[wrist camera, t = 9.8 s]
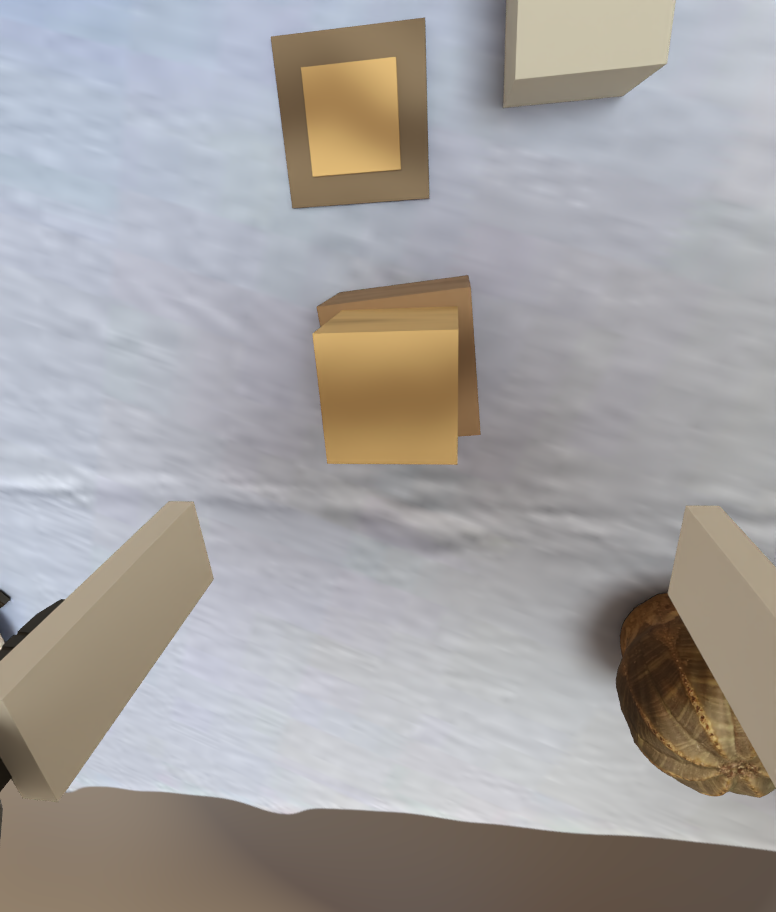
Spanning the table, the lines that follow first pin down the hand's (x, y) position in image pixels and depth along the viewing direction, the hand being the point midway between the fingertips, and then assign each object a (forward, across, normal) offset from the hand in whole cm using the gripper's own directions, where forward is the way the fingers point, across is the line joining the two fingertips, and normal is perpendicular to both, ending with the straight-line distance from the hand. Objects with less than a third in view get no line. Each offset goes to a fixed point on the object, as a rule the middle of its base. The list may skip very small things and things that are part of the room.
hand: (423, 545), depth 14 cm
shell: (+21, -17, +22) cm, 35 cm away
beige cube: (+21, -6, -16) cm, 27 cm away
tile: (+21, +5, -13) cm, 25 cm away
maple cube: (+15, +2, -1) cm, 15 cm away
